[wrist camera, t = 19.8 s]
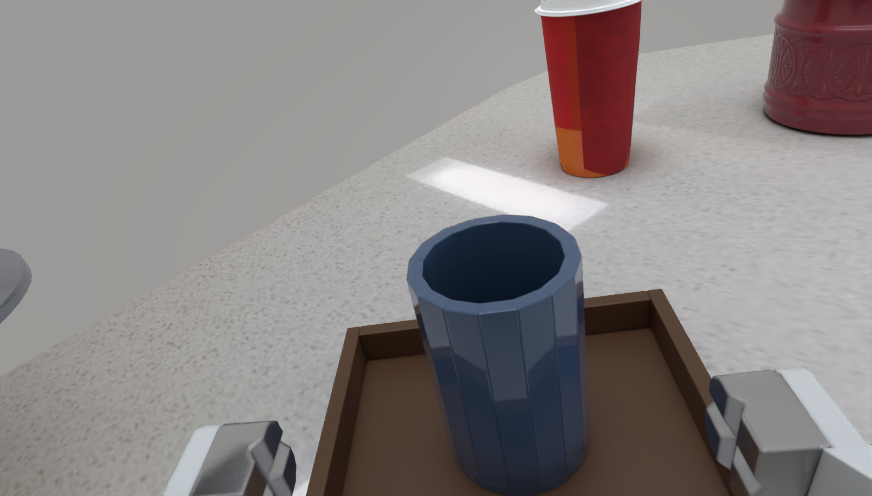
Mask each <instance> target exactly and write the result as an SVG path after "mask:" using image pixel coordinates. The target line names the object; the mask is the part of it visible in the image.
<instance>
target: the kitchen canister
mask: <svg viewBox="0 0 872 496" xmlns="http://www.w3.org/2000/svg"><path fill="white" fill-rule="evenodd" d="M774 22H775V33H774V40H773V46H772V53H771V60H770V67H769V74H768V79H767V81H766V83H765V86H764V89H765V91H764V94H763V99H764V102H765V112H766V114H767V115H768V116H769V117H770V118H772V119H773V120H775V121H776V122H778V123H781V124H783V125H786V126H789V127H792V128H796V129H800V130H805V131H811V132H818V133H827V134H843V135H861V134H872V0H784V1H783V5H782V9H781V11H779V12H778V13H777V14H776V16H775V18H774Z"/></svg>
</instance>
